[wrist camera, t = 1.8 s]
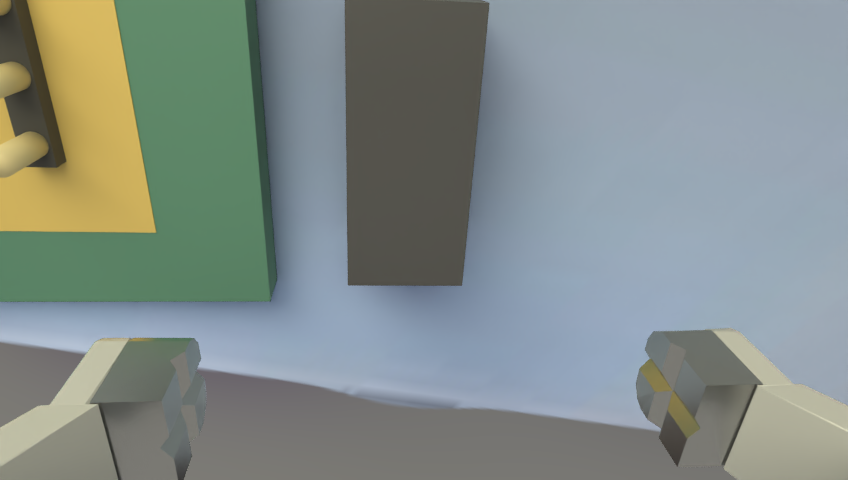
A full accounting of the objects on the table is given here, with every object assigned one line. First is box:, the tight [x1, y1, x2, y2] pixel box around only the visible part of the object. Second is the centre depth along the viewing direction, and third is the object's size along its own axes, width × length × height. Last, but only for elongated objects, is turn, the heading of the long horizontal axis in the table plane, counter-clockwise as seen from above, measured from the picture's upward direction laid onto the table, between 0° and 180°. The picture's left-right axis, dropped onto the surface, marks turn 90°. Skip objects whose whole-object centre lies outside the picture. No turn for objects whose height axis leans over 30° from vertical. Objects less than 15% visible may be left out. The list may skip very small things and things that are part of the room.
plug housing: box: [345, 0, 489, 286], centre depth 22 cm, size 5×11×5 cm, turn 177°
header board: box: [0, 0, 277, 302], centre depth 20 cm, size 16×20×5 cm
